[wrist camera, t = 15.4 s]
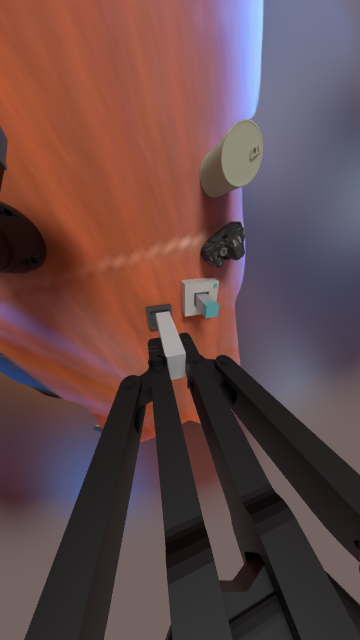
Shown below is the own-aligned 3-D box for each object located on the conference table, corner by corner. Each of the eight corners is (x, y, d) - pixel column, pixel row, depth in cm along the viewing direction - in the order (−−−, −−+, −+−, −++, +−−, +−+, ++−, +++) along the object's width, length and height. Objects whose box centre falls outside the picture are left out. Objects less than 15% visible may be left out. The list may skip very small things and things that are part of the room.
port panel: (181, 310, 56) (185, 317, 52) (181, 280, 50) (185, 285, 45) (209, 306, 58) (215, 312, 54) (212, 277, 52) (219, 281, 48)
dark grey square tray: (149, 327, 56) (149, 329, 55) (145, 306, 52) (146, 309, 50) (171, 323, 58) (172, 326, 56) (170, 303, 53) (171, 306, 52)
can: (233, 190, 40) (265, 176, 30) (204, 203, 40) (226, 194, 30) (229, 142, 35) (265, 106, 25) (195, 157, 35) (218, 128, 25)
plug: (192, 301, 54) (205, 318, 43) (192, 291, 52) (206, 306, 41) (201, 299, 55) (217, 316, 44) (202, 289, 53) (219, 304, 42)
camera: (216, 270, 51) (231, 277, 43) (195, 254, 46) (207, 259, 38) (241, 234, 47) (263, 234, 38) (220, 212, 42) (240, 208, 34)
